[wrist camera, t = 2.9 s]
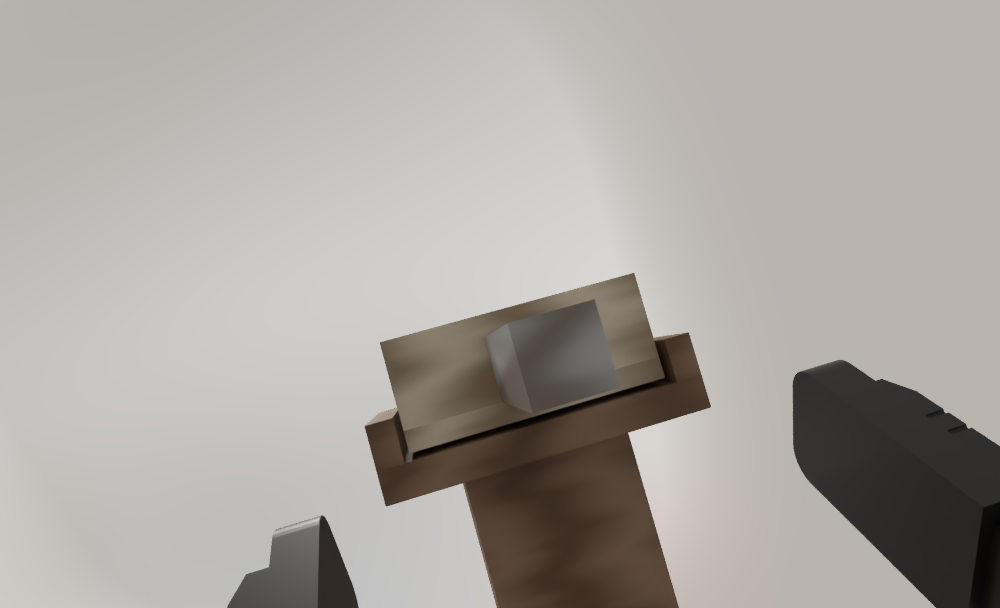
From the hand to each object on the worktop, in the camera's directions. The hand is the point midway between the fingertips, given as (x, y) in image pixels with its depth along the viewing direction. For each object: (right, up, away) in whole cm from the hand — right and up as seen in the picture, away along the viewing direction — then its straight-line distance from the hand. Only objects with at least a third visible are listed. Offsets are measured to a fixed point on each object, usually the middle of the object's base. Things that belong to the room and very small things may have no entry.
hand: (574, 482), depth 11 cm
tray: (+1, -2, +20) cm, 20 cm away
